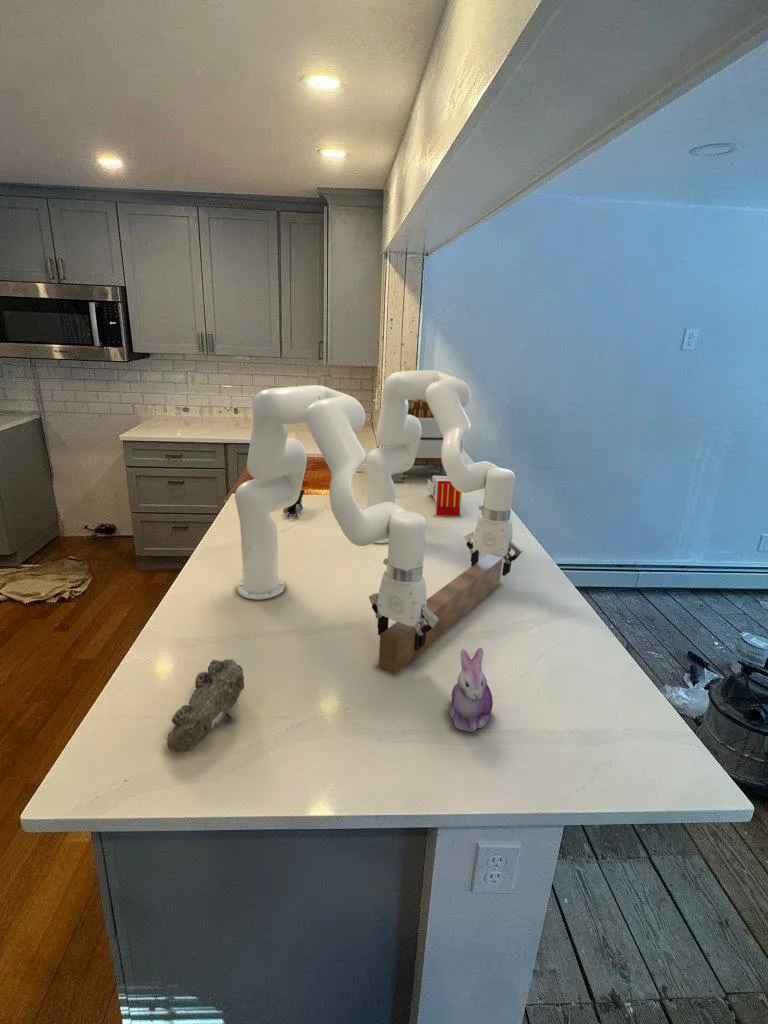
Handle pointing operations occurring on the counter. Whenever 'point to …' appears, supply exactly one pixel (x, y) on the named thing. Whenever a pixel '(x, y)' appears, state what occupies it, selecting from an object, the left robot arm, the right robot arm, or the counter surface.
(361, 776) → the counter surface
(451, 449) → the right robot arm
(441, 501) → the red striped box
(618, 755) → the counter surface
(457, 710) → the figurine
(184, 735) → the fossil
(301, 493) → the figurine character
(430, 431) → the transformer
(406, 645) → the bar
